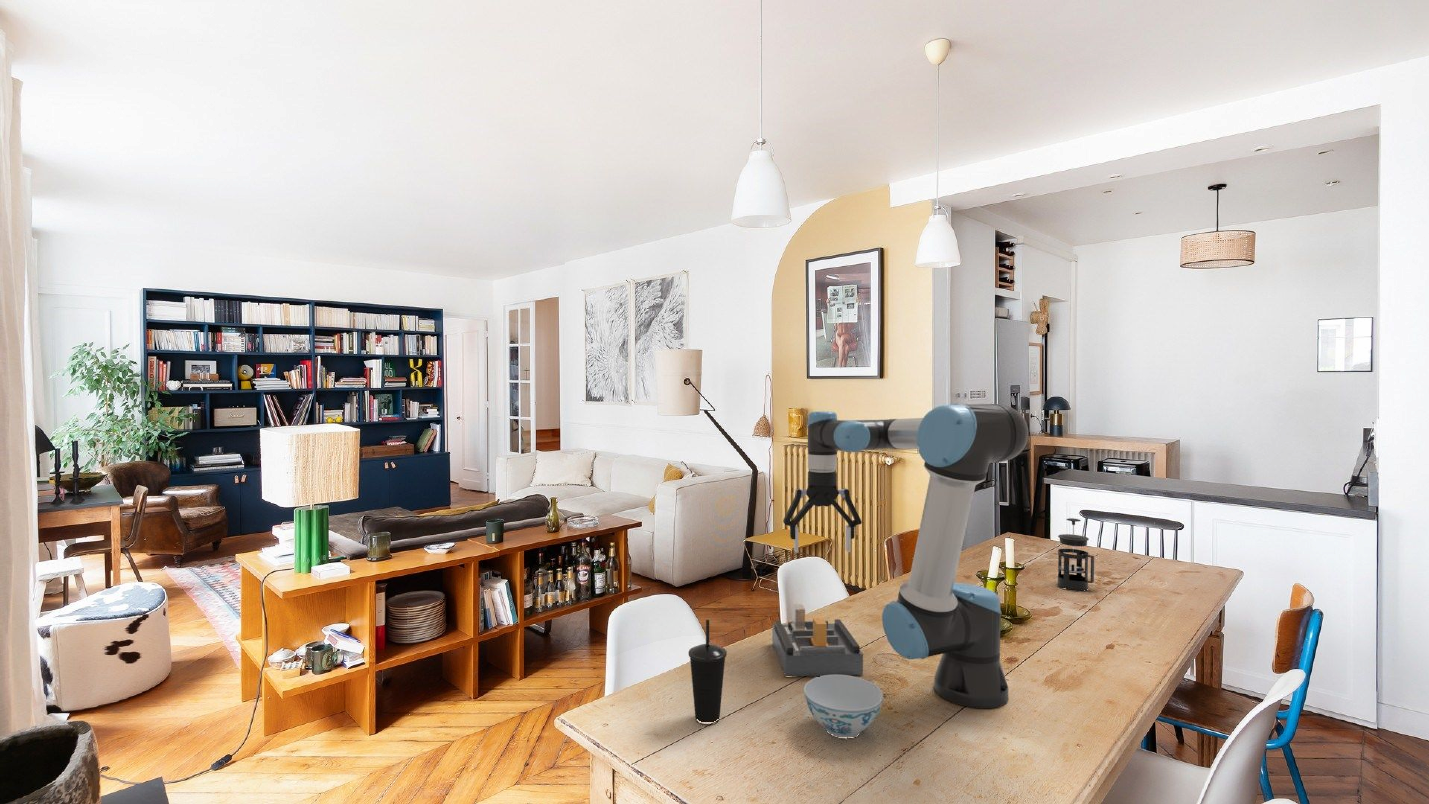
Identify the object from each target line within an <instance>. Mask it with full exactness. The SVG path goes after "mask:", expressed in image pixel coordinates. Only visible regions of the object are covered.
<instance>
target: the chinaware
mask: <svg viewBox="0 0 1429 804" xmlns="http://www.w3.org/2000/svg"><path fill="white" fill-rule="evenodd" d="M803 692H804V697H805V701H806V702H805V703H806V704H807V707H808V710H809V711H810V714H811V715H812V716H813V718H814V719H815V720H816V721H817V722H818V723H819V724H820V725H821V727H823V728H826V729H825V731H826V730H827V731H828V732H829V733H830V734H833V735H834V736H837V737H847V738H848V737H856V736H857V735H858V734H860V735H861V733H862V731H865V730H866V729H867V728H869V727H870V726H871V725H872V724H873V723H874V722H875V720H876V719H877V717H878V715H879V713H880V710H881V709H882V704H883V700H884V694H883V691H882V689H881V688H880V687H879V686H878V685H876V684H875V683H874V682H871V681H869V680H867V679H865V678H862V677H861V678H860V677H858V676H848V675H824V676H820V677H813V678H812V679H809V680H808V681H807V682H806V683H805V685H804V687H803ZM860 732H861V733H860ZM856 738H857V737H856Z"/></svg>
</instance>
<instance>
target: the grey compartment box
mask: <svg viewBox="0 0 1429 804" xmlns="http://www.w3.org/2000/svg"><path fill="white" fill-rule="evenodd" d="M824 620H825V619H824ZM825 622H826V624H827V644H828V645H829V646H813V644H812V643H811V638H813V620H806V609H805V607H804V605H803V604H802V603H795V604H794V603H792V621H791V620H790V621H789V620H788V621H787V624H782V621H781V620H775V621H774V624H772V627H771V628H772V630H771V631H772V634H771V635H772V636H771V637H772V638H771V639H772V642H771V643H772V646H773V649H774V652H775V654H776V657H777V659H778V661H780V662H779V665H780V667H781V670H782V672H783V671H784V672H783V673H785V674H784V676H824V675H848V676H852V675H858V676H864V653H863V652H862V650H860V648H861V646H860V644H859V643H858V642H857V640H856V639H855V638H854V636H853V635H852V634H851V633H850V631H849V630H848V629H847V627H846V626H845V624H844V623H843V622H842V620H841V619H839V618H838V619H837V618H836V619H834V623H829V620H825Z"/></svg>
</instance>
